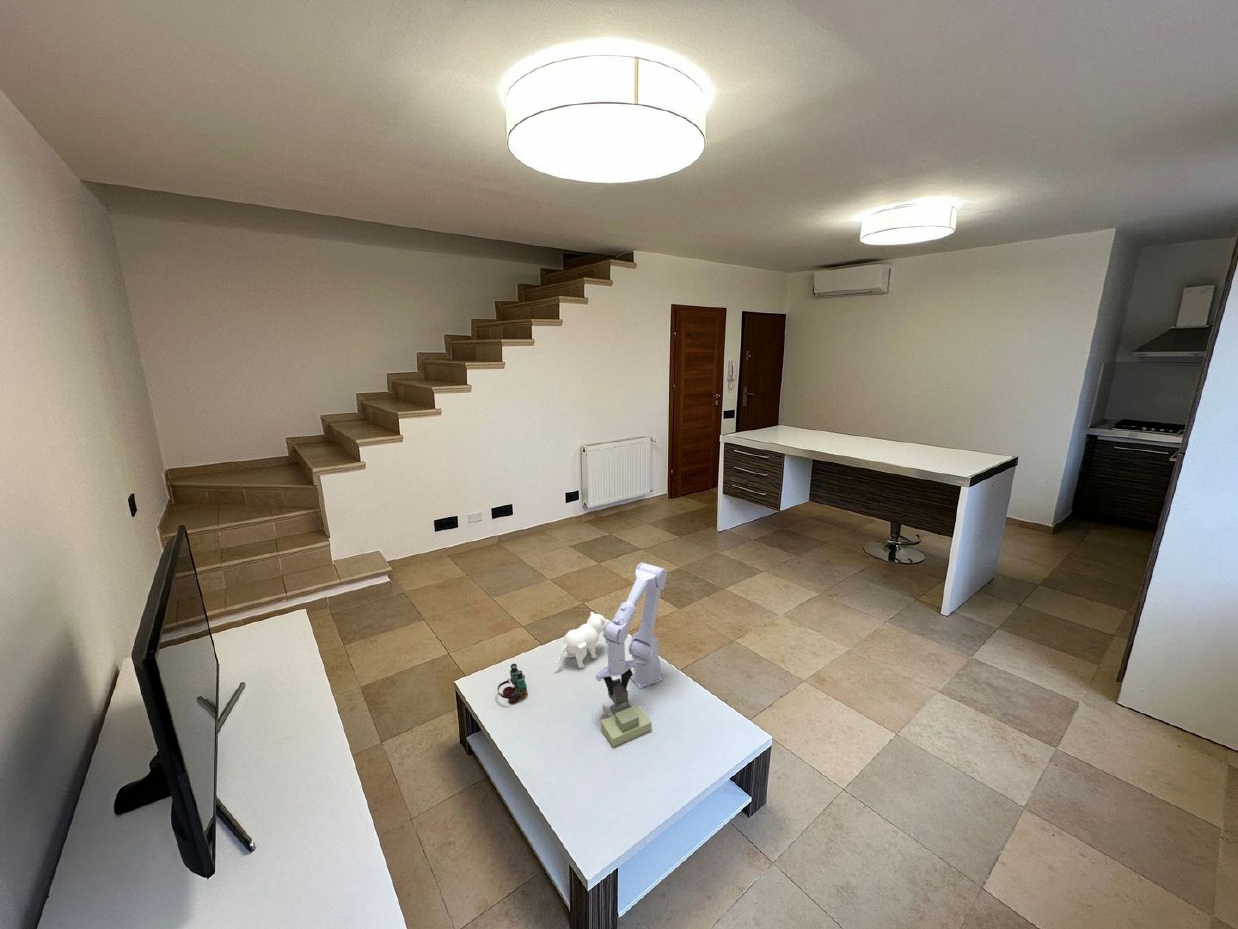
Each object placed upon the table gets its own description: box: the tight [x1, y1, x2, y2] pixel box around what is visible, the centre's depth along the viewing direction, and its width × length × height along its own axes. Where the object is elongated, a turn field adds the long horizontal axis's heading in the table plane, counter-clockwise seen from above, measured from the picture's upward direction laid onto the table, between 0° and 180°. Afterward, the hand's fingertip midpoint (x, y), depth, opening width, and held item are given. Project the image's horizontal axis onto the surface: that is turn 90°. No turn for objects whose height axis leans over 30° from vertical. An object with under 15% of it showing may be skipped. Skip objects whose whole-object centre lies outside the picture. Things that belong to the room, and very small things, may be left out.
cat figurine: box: [555, 611, 608, 669], centre depth 190 cm, size 25×10×17 cm, turn 129°
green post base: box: [600, 697, 653, 748], centre depth 160 cm, size 14×16×6 cm
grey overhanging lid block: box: [607, 677, 629, 707], centre depth 164 cm, size 4×6×5 cm
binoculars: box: [497, 663, 529, 704], centre depth 172 cm, size 9×11×10 cm
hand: (617, 691), depth 165 cm, fingers closed on grey overhanging lid block, 4 cm apart
